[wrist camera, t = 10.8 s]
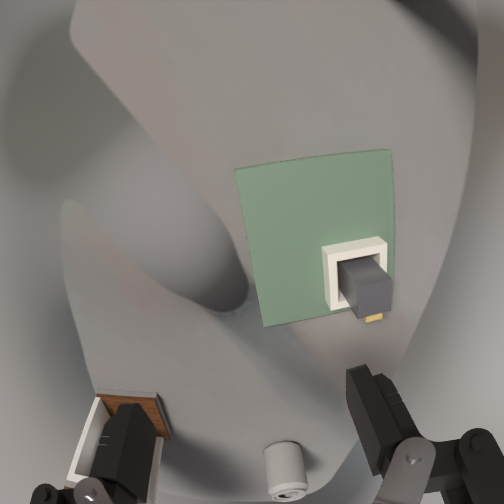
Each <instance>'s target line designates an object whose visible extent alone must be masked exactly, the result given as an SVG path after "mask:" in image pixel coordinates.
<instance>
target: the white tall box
mask: <svg viewBox="0 0 504 504" xmlns="http://www.w3.org/2000/svg"><path fill="white" fill-rule="evenodd" d="M121 403H139V404H140V405H141V406H142V408H143V409H144V411H145V412H146V414H147V415H148V417H149V418H150V420H151V421H152V422H153V424H154V426H155V429H156V443H155V449H154V455H153V461H152V468H151V474H150V481H149V488H148V495H147V502H146V503H136V504H155V499H156V491H157V483H158V475H159V468H160V461H161V454H162V447H163V440H170V434H171V430H170V428H169V425H168V423H167V420H166V417H165V415H164V412H163V409H162V406H161V403H160V401H159V398H158V395H157V393H156V392H135V391H120V390H108V389H99V390H98V393H97V395H96V398H95V400H94V403H93V405H92V408H91V411H90V413H89V416H88V419H87V421H86V424H85V427H84V430H83V432H82V435H81V438H80V441H79V444H78V447H77V449H76V452H75V455H74V458H73V461H72V464H71V467H70V471H69V474H68V477H67V480H66V483H65V487H64V489H69V488H75V486H76V484H77V483H78V482H79V481H80V480H82V479H84V478H88V477H89V474H90V471H91V467H92V464H93V460H94V457H95V454H96V450H97V447H98V446H99V440H100V438H101V434H102V431H103V428H104V425H105V424H106V422H107V421H108V420H109V418H110V417H111V416H115V415H116V412H117V409H118V406H119V405H120V404H121Z"/></svg>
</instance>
